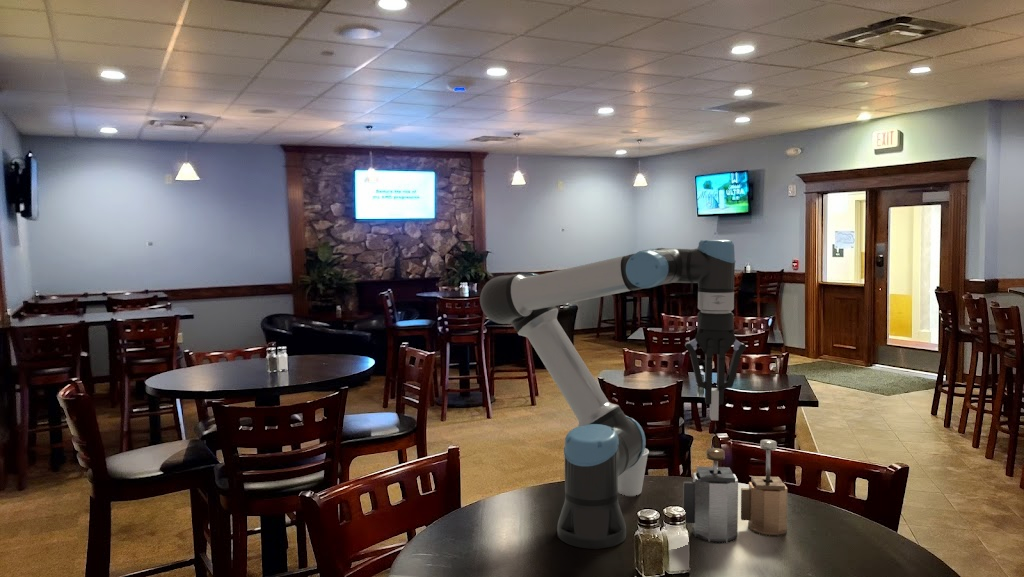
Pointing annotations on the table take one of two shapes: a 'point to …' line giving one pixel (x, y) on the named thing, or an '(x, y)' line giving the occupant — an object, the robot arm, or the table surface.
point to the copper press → (765, 506)
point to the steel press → (712, 504)
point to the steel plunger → (715, 458)
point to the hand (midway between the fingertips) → (713, 418)
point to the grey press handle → (768, 455)
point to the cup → (633, 477)
